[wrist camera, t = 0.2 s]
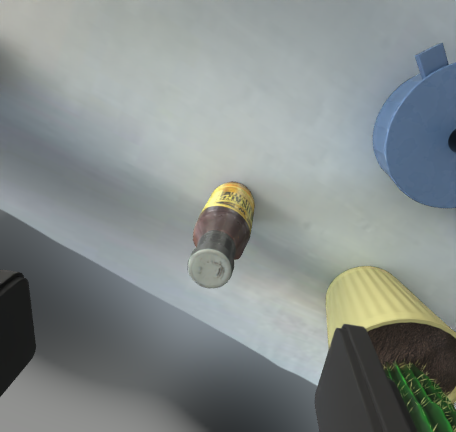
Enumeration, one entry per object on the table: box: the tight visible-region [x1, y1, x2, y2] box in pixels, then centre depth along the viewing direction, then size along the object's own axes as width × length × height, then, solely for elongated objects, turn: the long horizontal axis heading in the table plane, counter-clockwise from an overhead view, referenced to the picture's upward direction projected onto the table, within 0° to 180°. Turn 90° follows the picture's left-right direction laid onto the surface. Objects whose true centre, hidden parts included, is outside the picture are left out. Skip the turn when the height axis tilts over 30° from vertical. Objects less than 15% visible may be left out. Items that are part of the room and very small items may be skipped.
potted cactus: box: [326, 266, 456, 432], centre depth 38 cm, size 15×15×30 cm
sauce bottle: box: [188, 182, 255, 288], centre depth 38 cm, size 7×6×20 cm
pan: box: [373, 43, 449, 177], centre depth 39 cm, size 15×20×6 cm
